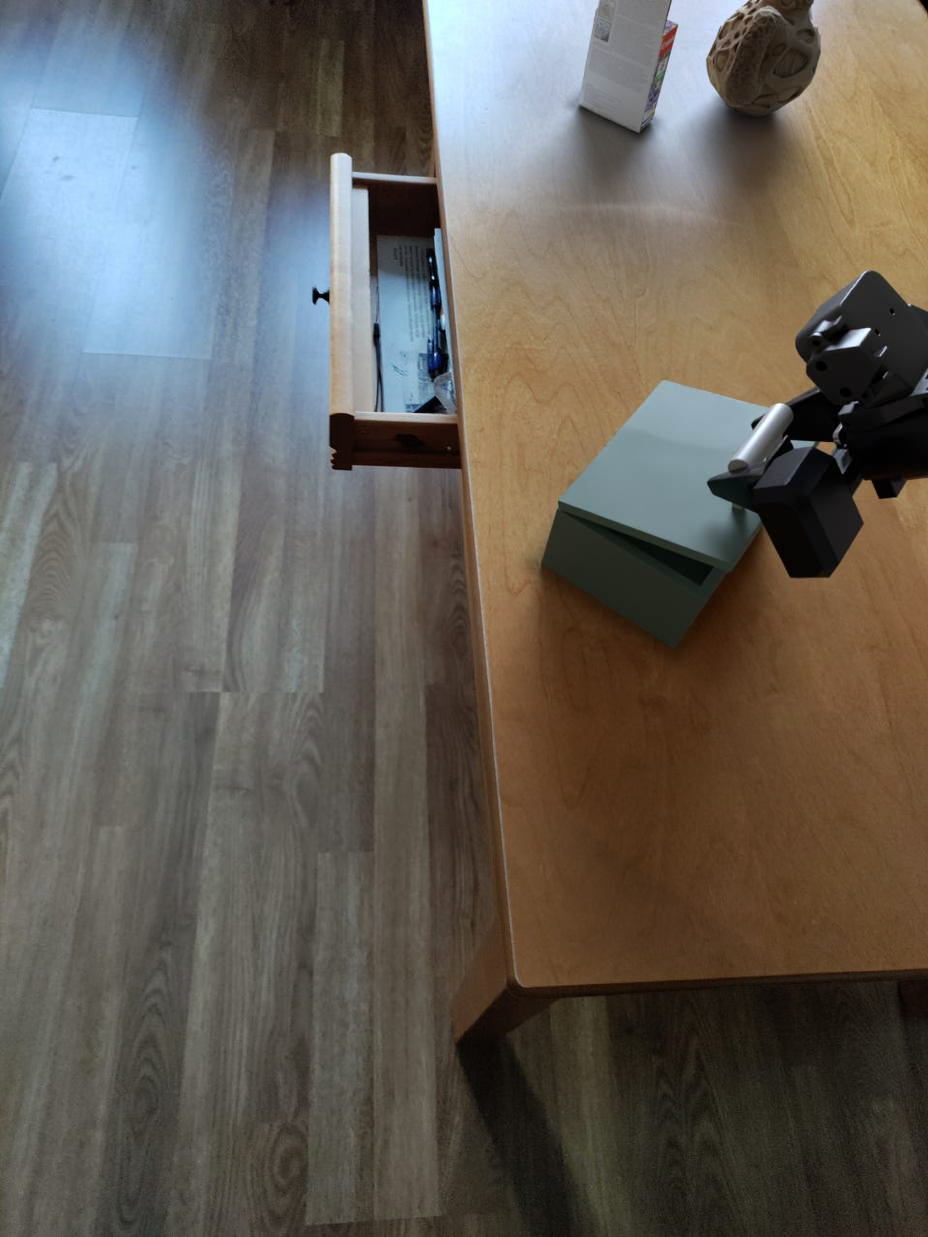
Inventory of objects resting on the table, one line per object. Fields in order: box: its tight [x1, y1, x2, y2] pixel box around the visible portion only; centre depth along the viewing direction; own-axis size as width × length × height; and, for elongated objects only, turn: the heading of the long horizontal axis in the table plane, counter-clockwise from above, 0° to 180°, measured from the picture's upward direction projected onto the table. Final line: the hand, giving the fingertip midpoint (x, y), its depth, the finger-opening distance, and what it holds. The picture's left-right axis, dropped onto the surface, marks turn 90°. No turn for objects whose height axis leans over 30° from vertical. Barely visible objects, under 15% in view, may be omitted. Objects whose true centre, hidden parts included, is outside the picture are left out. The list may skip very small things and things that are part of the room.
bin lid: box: [557, 379, 821, 573], centre depth 57 cm, size 12×15×5 cm
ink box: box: [577, 0, 679, 134], centre depth 88 cm, size 4×8×15 cm, turn 55°
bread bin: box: [540, 507, 728, 650], centre depth 63 cm, size 12×15×7 cm
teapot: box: [705, 0, 822, 118], centre depth 90 cm, size 21×12×15 cm, turn 154°
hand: (732, 456), depth 55 cm, fingers closed on bin lid, 6 cm apart
